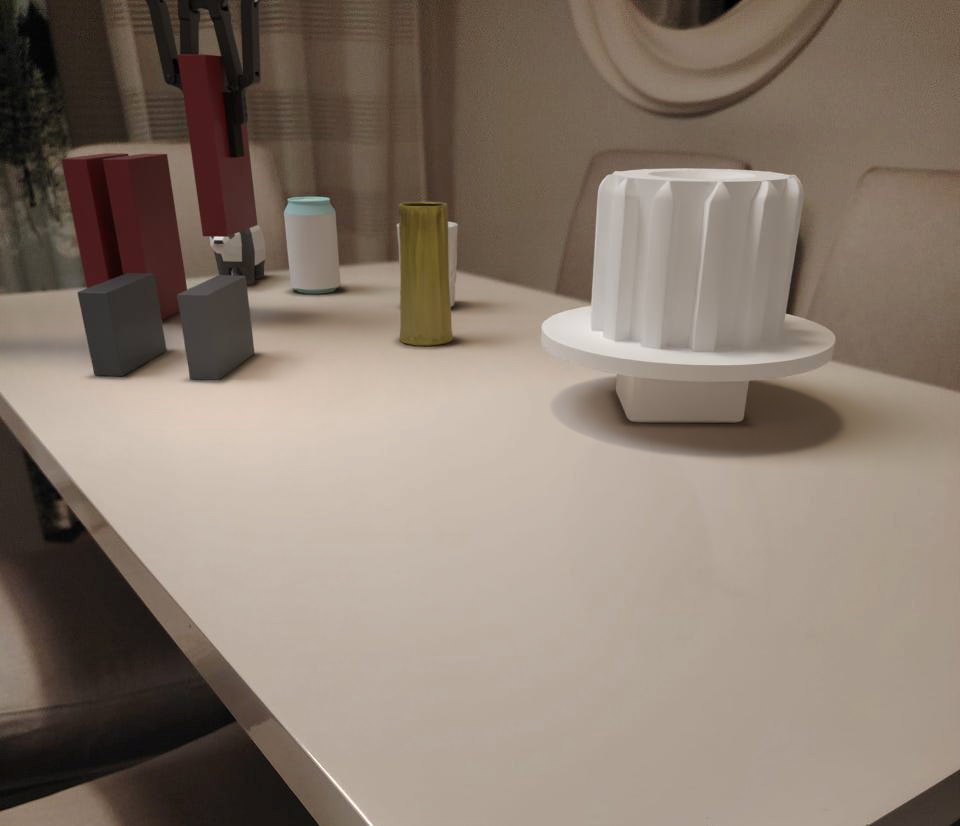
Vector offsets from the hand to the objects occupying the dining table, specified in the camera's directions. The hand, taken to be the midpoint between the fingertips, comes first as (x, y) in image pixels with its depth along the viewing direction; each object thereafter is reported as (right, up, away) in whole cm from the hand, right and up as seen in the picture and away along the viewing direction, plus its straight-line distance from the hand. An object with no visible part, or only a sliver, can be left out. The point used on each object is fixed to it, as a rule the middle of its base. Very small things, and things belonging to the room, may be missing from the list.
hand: (222, 156), depth 110 cm
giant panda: (-6, -3, +31) cm, 31 cm away
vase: (+24, -22, -2) cm, 33 cm away
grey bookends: (-1, -28, -12) cm, 30 cm away
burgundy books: (-13, -15, +10) cm, 22 cm away
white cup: (+23, -12, +16) cm, 31 cm away
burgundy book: (0, -7, +4) cm, 8 cm away
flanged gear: (+48, -36, -24) cm, 65 cm away
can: (+7, -6, +25) cm, 27 cm away
